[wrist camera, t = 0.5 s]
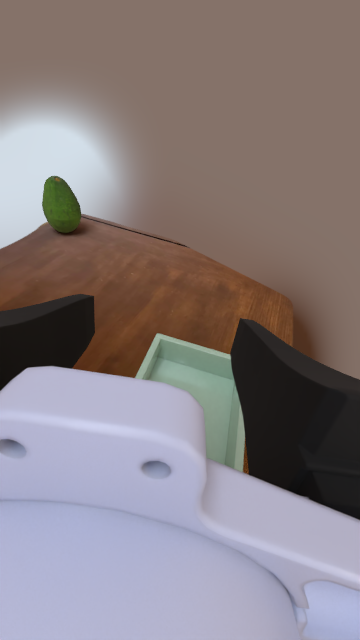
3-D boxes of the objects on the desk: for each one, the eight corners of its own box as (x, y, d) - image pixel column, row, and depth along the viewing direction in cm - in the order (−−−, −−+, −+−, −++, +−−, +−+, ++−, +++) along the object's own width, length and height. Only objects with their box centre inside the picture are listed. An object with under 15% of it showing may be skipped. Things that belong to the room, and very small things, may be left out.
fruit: (44, 237, 55) (29, 178, 47) (52, 223, 61) (40, 169, 53) (80, 240, 56) (72, 183, 48) (85, 226, 62) (79, 173, 54)
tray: (227, 503, 23) (241, 491, 20) (106, 459, 24) (103, 442, 21) (239, 379, 34) (249, 360, 31) (154, 353, 35) (157, 332, 32)
